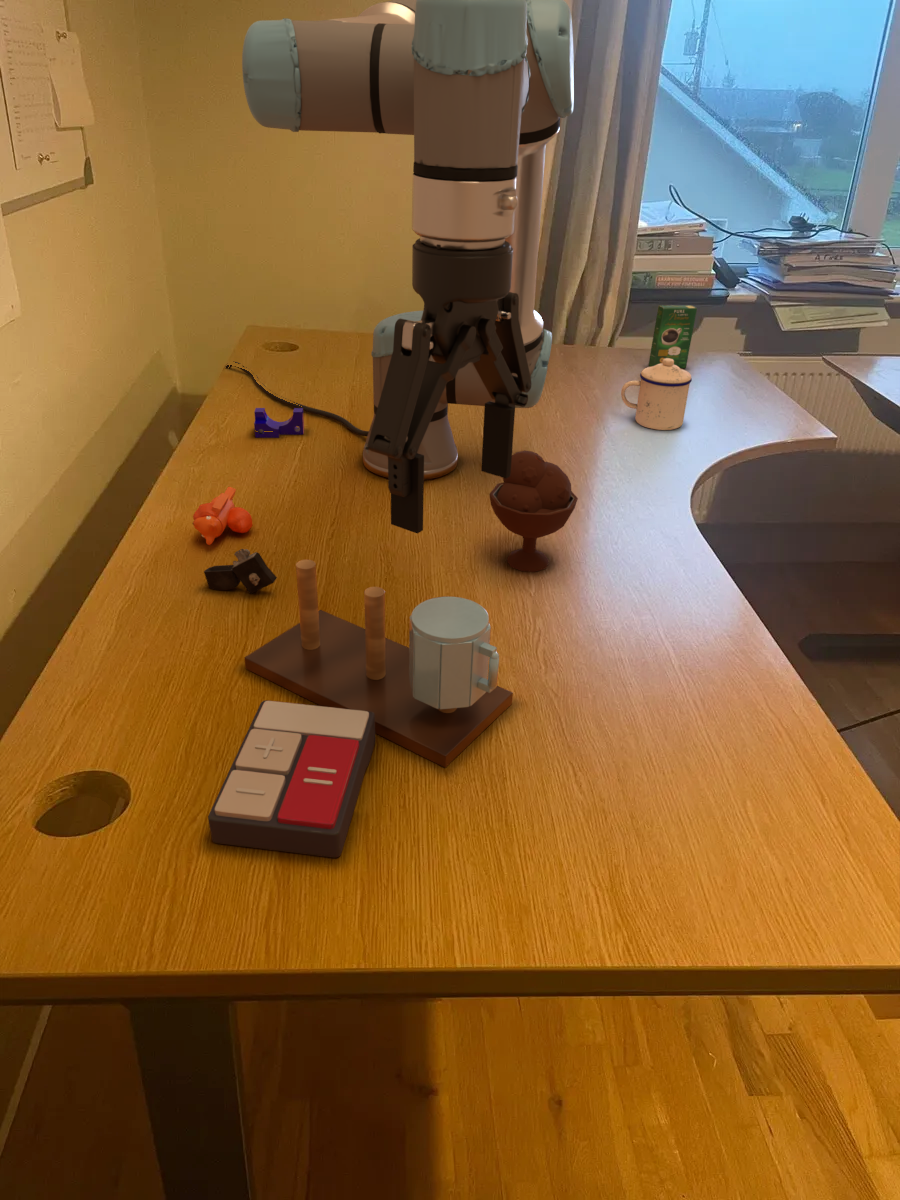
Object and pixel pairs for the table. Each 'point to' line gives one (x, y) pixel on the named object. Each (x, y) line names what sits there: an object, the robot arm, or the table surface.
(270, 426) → the cable holder
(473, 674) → the blue cup
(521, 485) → the ice cream bowl
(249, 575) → the lighter
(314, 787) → the calculator
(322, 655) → the peg rack
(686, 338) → the coffee box
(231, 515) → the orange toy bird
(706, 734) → the table surface
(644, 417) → the teacup with lid
